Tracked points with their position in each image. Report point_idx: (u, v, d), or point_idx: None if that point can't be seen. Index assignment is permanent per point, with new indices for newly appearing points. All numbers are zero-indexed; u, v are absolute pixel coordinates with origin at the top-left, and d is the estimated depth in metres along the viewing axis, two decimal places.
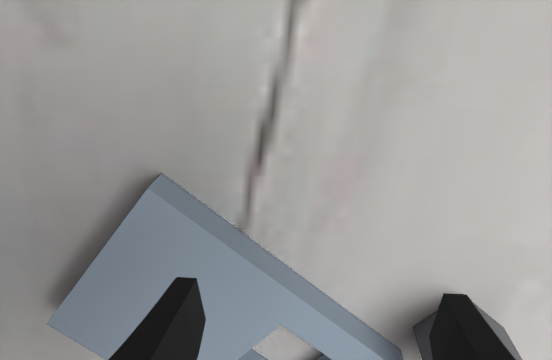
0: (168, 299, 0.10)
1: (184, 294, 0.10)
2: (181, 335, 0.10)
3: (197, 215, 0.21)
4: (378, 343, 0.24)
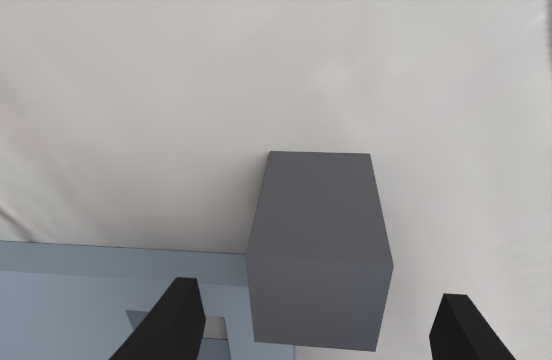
0: (168, 299, 0.10)
1: (184, 294, 0.10)
2: (181, 335, 0.10)
3: None
4: (245, 268, 0.18)
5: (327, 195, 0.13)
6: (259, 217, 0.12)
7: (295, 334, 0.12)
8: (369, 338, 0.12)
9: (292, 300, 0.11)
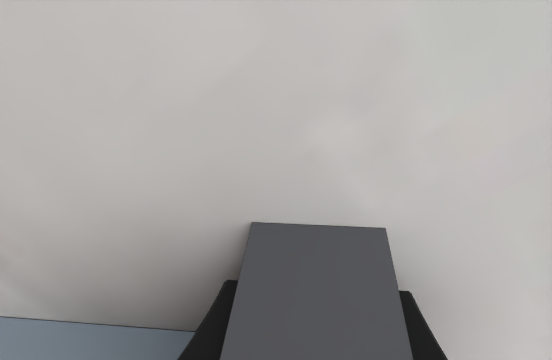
0: (223, 303, 0.10)
1: None
2: None
3: None
4: None
5: (329, 308, 0.09)
6: (227, 355, 0.08)
7: None
8: None
9: None
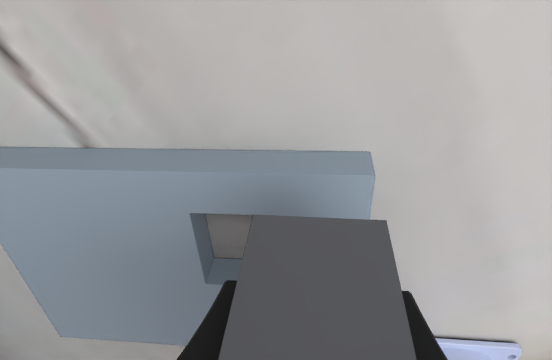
0: (223, 303, 0.10)
1: None
2: None
3: (20, 160, 0.18)
4: (320, 161, 0.17)
5: (330, 297, 0.09)
6: (229, 342, 0.08)
7: None
8: None
9: None
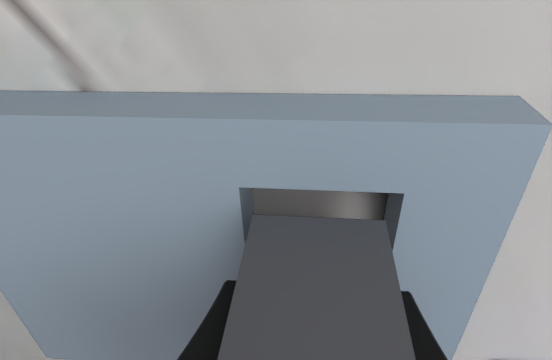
0: (223, 303, 0.10)
1: None
2: None
3: None
4: (448, 107, 0.11)
5: (330, 297, 0.09)
6: (228, 342, 0.08)
7: None
8: None
9: None
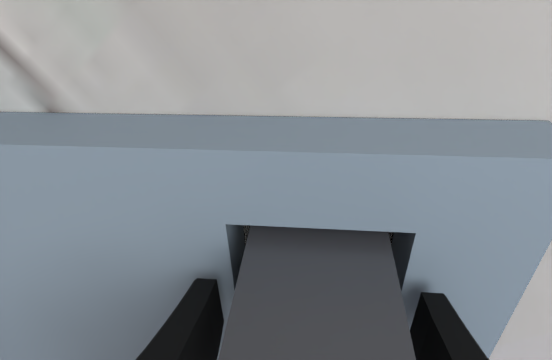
0: (190, 301, 0.10)
1: (205, 295, 0.10)
2: (203, 337, 0.10)
3: None
4: (468, 134, 0.09)
5: (329, 263, 0.10)
6: (238, 300, 0.09)
7: None
8: None
9: None
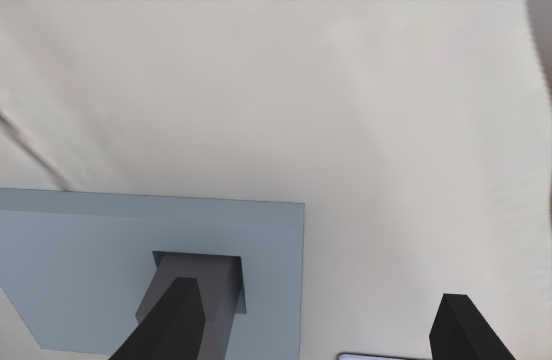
0: (168, 299, 0.10)
1: (184, 294, 0.10)
2: (181, 335, 0.10)
3: (8, 202, 0.21)
4: (261, 211, 0.20)
5: (198, 270, 0.20)
6: (150, 287, 0.19)
7: None
8: (216, 359, 0.20)
9: None
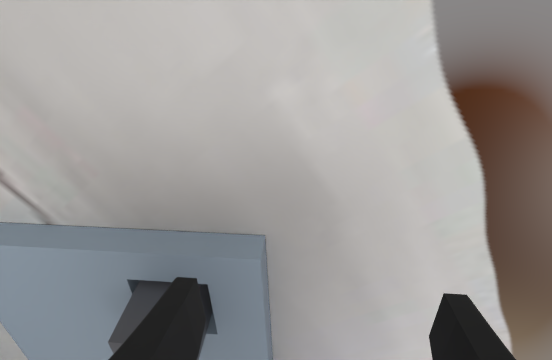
0: (168, 299, 0.10)
1: (184, 294, 0.10)
2: (181, 335, 0.10)
3: None
4: (224, 244, 0.22)
5: None
6: (124, 314, 0.21)
7: None
8: None
9: None
